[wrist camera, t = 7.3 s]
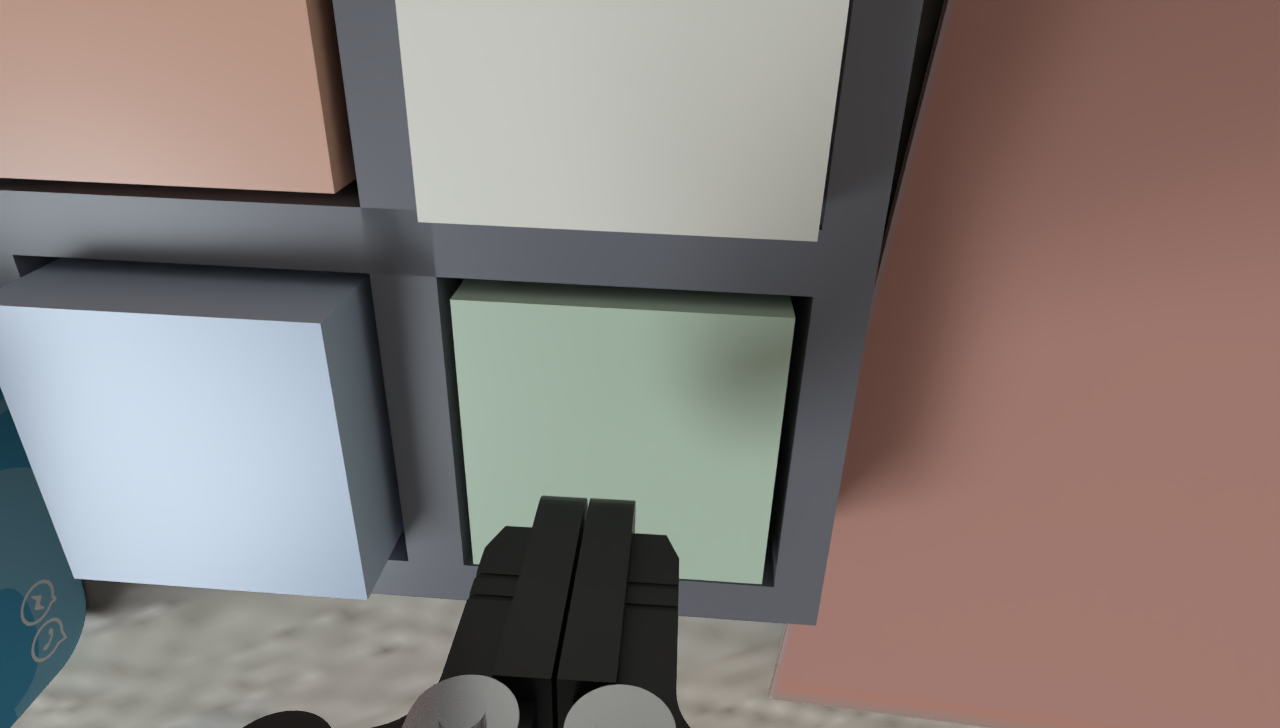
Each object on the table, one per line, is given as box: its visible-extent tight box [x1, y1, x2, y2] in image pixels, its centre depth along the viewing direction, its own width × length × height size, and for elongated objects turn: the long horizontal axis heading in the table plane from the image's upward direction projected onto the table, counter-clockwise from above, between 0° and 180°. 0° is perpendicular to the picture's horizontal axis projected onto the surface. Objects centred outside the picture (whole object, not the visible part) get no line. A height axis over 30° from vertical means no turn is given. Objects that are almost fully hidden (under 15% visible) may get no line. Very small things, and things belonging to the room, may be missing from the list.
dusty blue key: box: [0, 257, 404, 600], centre depth 16 cm, size 6×6×4 cm
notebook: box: [769, 0, 1280, 728], centre depth 18 cm, size 27×17×2 cm, turn 174°
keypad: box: [0, 0, 924, 626], centre depth 16 cm, size 16×16×4 cm
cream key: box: [395, 0, 849, 242], centre depth 12 cm, size 6×6×4 cm
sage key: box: [450, 279, 795, 584], centre depth 17 cm, size 6×6×4 cm
